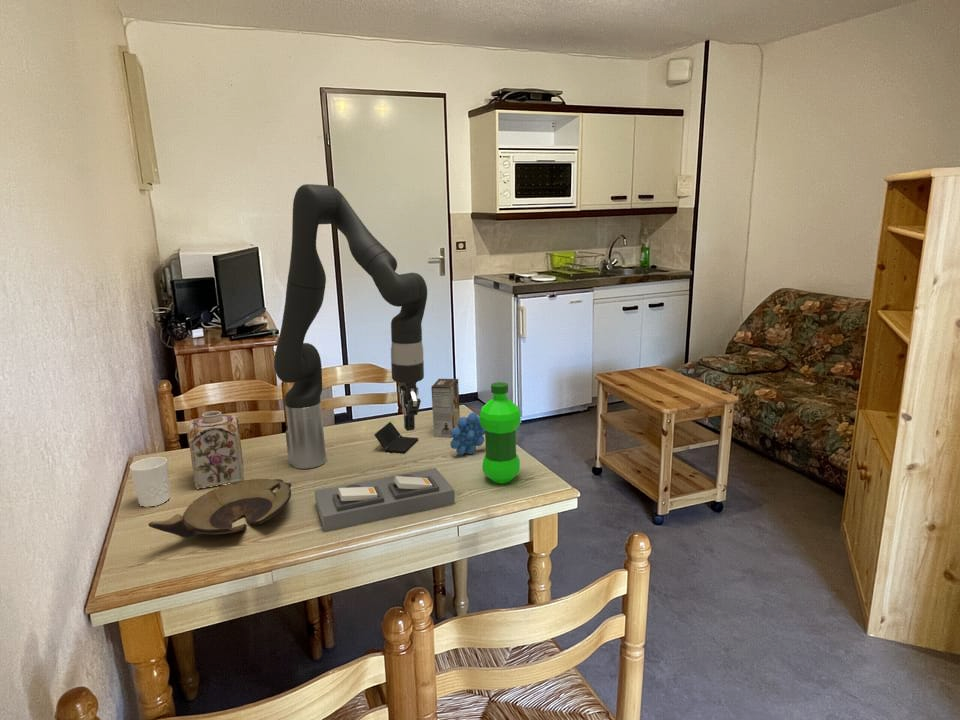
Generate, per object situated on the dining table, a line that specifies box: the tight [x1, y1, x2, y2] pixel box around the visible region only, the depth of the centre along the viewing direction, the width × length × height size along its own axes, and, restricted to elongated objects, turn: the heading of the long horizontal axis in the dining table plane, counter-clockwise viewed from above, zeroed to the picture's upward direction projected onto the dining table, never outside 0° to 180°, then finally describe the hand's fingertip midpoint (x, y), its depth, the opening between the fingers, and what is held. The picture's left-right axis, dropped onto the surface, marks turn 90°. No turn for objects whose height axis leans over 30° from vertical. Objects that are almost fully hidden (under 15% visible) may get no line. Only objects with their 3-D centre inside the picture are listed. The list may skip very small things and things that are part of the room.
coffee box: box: [431, 378, 461, 438], centre depth 187 cm, size 9×6×16 cm
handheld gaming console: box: [374, 421, 419, 455], centre depth 178 cm, size 12×7×10 cm
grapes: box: [450, 412, 485, 456], centre depth 170 cm, size 12×7×12 cm, turn 117°
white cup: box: [129, 456, 171, 507], centre depth 147 cm, size 8×8×10 cm
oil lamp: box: [148, 478, 292, 538], centre depth 135 cm, size 22×30×8 cm
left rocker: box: [338, 487, 378, 501], centre depth 137 cm, size 8×4×1 cm, turn 112°
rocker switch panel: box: [314, 467, 456, 532], centre depth 142 cm, size 30×14×4 cm, turn 112°
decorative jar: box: [187, 410, 245, 489], centre depth 158 cm, size 12×12×18 cm
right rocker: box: [394, 476, 433, 489], centre depth 142 cm, size 8×4×1 cm, turn 112°
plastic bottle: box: [479, 381, 522, 484], centre depth 152 cm, size 10×10×25 cm
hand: (409, 429), depth 146 cm, fingers closed
